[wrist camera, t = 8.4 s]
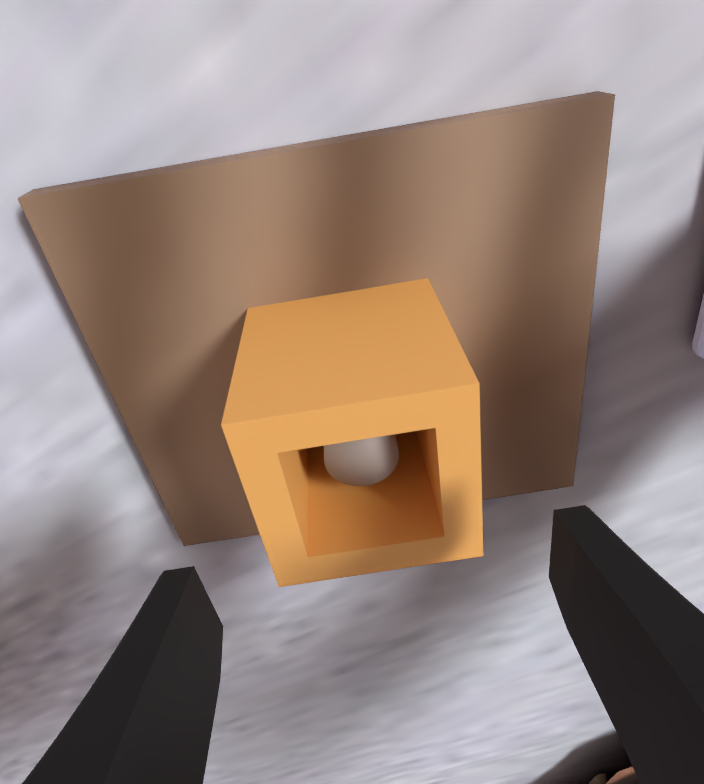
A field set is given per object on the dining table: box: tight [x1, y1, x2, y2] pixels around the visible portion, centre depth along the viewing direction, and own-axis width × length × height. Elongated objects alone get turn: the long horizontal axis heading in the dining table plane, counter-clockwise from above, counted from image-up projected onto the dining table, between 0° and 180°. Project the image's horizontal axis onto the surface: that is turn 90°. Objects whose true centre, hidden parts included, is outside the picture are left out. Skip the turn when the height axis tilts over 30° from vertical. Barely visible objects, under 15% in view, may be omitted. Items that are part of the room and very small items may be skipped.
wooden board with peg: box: [18, 91, 615, 546], centre depth 17 cm, size 16×14×6 cm
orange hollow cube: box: [221, 278, 483, 587], centre depth 16 cm, size 6×6×6 cm
